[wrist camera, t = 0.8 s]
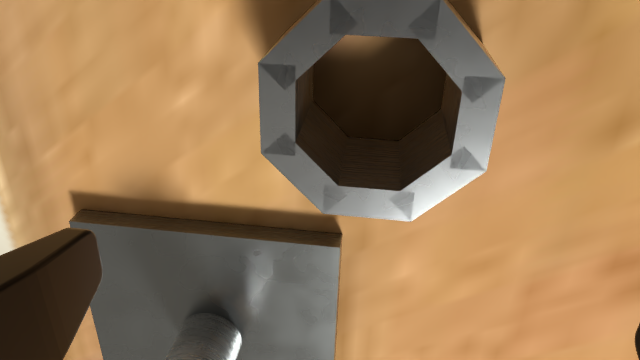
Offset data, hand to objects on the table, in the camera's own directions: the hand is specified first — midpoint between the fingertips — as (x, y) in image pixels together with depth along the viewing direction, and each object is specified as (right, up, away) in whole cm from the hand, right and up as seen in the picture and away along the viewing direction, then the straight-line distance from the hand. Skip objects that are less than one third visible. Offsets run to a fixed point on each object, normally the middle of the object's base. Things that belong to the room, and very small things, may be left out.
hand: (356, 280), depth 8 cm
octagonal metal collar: (+2, +5, +10) cm, 12 cm away
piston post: (-6, -6, +17) cm, 19 cm away
